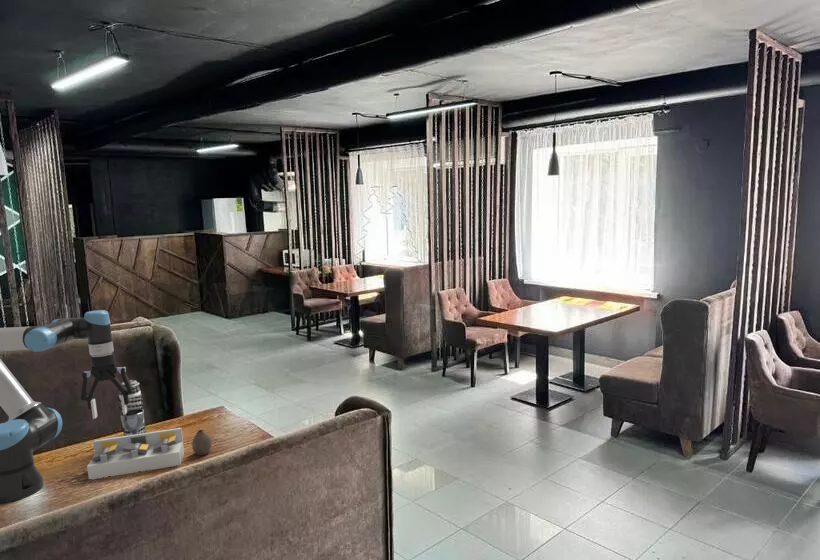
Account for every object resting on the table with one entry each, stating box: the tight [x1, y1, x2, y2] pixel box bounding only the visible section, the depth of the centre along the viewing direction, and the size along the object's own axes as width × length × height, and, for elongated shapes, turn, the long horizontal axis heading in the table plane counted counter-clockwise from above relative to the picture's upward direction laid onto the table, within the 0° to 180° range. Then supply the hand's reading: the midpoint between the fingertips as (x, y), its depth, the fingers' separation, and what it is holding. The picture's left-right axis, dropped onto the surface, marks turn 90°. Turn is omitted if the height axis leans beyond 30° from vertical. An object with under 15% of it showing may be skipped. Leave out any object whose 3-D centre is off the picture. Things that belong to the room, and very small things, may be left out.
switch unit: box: [86, 427, 185, 480], centre depth 204 cm, size 30×11×10 cm, turn 105°
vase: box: [191, 429, 213, 456], centre depth 212 cm, size 7×7×9 cm
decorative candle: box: [117, 379, 147, 436], centre depth 227 cm, size 9×9×25 cm
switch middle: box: [122, 443, 149, 453], centre depth 203 cm, size 8×5×2 cm, turn 105°
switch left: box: [91, 444, 119, 462], centre depth 201 cm, size 8×5×2 cm, turn 105°
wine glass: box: [120, 408, 145, 435], centre depth 219 cm, size 8×8×15 cm
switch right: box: [153, 435, 178, 452], centre depth 206 cm, size 8×5×2 cm, turn 105°
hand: (110, 415), depth 200 cm, fingers open, 9 cm apart
